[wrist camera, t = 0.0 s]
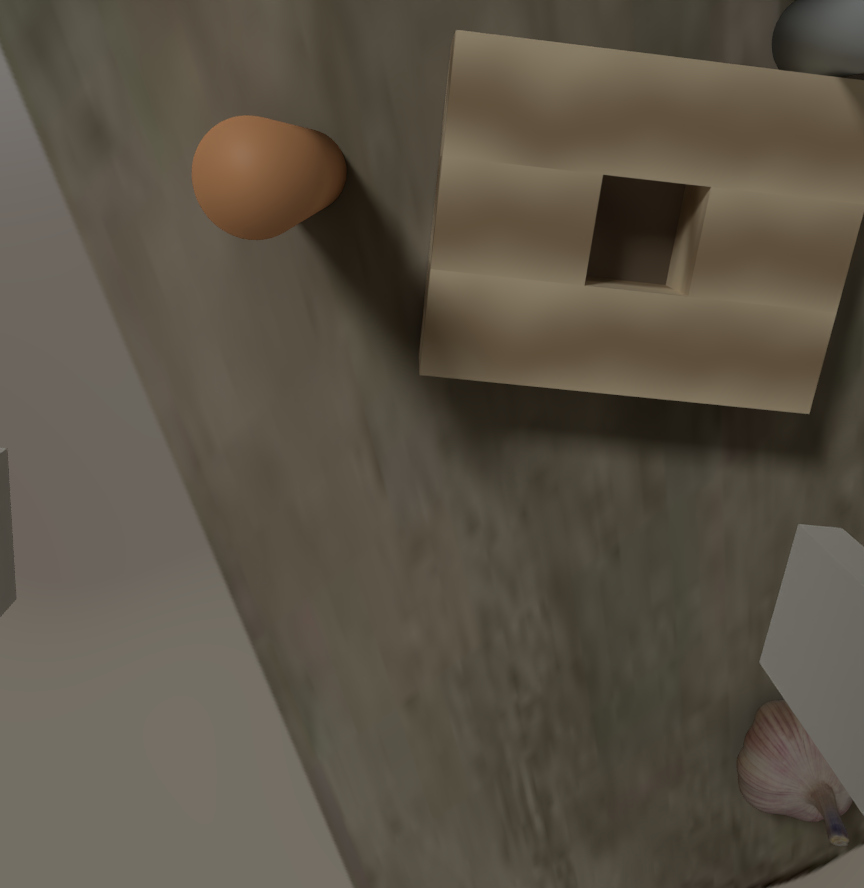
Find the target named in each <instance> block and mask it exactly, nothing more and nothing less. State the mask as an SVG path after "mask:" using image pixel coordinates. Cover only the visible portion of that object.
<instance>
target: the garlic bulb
mask: <svg viewBox="0 0 864 888" xmlns="http://www.w3.org/2000/svg"><path fill="white" fill-rule="evenodd" d="M737 772H738V784H739V788H740V791H741V793H742V795H743V797H744V798H745V799H746V800H747V801H748V802H749V803H750V804H751V805H752V806H753V807H755V808H756V809H758V810H760V811H762V812H765V813H770V814H780V815H786V816H790V817H794V818H796V819H799V820H802V821H807V822H818V821H821V820H823V819H824V821H825V824H826V829H827V834H828V838H829V840H830V842H831V843H832V844H834V845H836V846H844V845H845V846H847V845H848V842H849V837H848V833H847V831H846V828H845V826H844V824H843V822H842V819H841V817H840V816H841V815H843V814H844V813H845V812H847V810H848V809H849V808H850V806H851V804H852V801H853V799H852V798H851V796H850V795H849V793H848V792H847V791H846V789H845V788H844V786H843V785H842V783H841V782H840V780H839V779H838V777H837V776H836V774H835V773H834V771H833V770H832V768H831V767H830V766H829V764H828V763H827V761H826V760H825V758H824V757H823V755H822V754H821V752H820V751H819V749H818V748H817V746H816V745H815V744H814V742H813V741H812V739H811V738H810V736H809V735H808V733H807V732H806V730H805V729H804V727H803V726H802V724H801V723H800V721H799V720H798V719H797V717H796V716H795V714H794V713H793V711H792V710H791V708H790V707H789V705H788V704H787V702H786V701H785V699H783V700H772V701H769V702H767V703H765V704H763V705H762V706H761V707H760V708H759V709H758V711H757V713H756V715H755V719H754V722H753V725H752V726H751V728H750V729H749V730H748V732H747V734H746V736H745V739H744V746H743V748H742V750H741V751H740V753H739V755H738V758H737Z"/></svg>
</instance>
